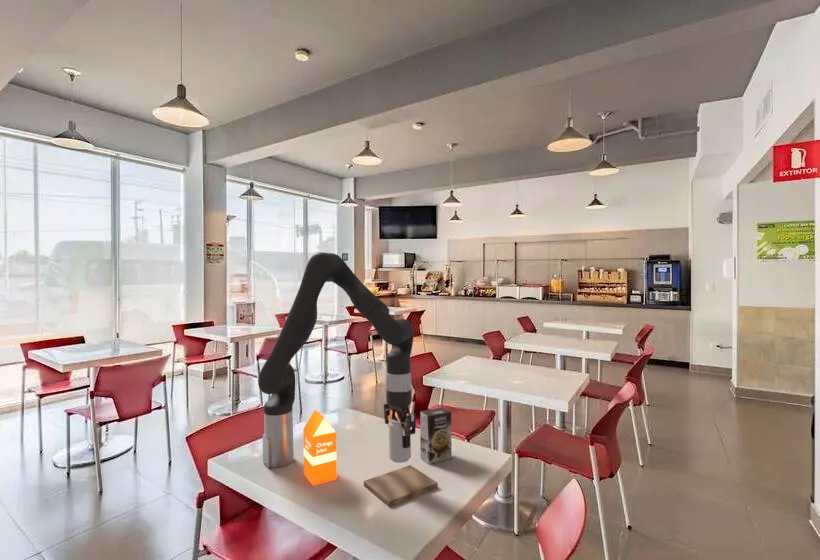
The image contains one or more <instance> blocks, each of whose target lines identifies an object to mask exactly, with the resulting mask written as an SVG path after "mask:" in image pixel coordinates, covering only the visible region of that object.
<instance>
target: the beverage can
mask: <svg viewBox="0 0 820 560" xmlns="http://www.w3.org/2000/svg"><path fill="white" fill-rule="evenodd" d="M406 423H407V420H406V421H404V422H402V424H406ZM405 431H406V426H405ZM402 435H403V434H402V428H400V427H399V423H398V421H397V420H396V419H391V418H390V422H389V427H388V447H389V448H388V451H389V453H388V456H389V459H390V460H391V461H392V462H394V463H398V464H399V463H400V464H401V463H406V462H407V461H409V460H410V459H411V458H412V449H411V448H412V443H411V442H412V441H411V437H412V435H410V447H408V448H403V443H402Z"/></svg>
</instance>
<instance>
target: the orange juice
mask: <svg viewBox="0 0 820 560" xmlns="http://www.w3.org/2000/svg"><path fill="white" fill-rule="evenodd" d="M302 429H303V430H302V431H303V433H302V434H303V475H304V476H305V478H306V479H307V481H309V482H310V483H311V485H312V486H317V485H320V484H325V483H326V482H331V481H334V480H337V475H338V471H337V431H336V430H335V429H334V428H333V427H332V425H331V424H330V422H328V419H326V418H325V416H323V415H322V414H321V413H320V412H318V411H317V410H316V409H314V410H313V412H312V414H311V415H310V417H309V419H308V420H307V422H306V423H305V426H304V427H303V428H302Z"/></svg>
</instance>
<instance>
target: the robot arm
mask: <svg viewBox="0 0 820 560" xmlns="http://www.w3.org/2000/svg"><path fill="white" fill-rule="evenodd" d="M331 282H332V283H333V284H335V285H337V286H338V287H339V288H341V290H343V291H344V292H345V293H346V294H347V296H348V297H349V299H350V301H351V303H352V304H353V307H354V308H355V309H356V311H357V312H359V313H360V315H362V316H363V317H364V318H365V319H366V320H367V322H370V323H371V325H372V327H373V328H374V330H375V331H376V332H377V334H378V336H379V337H380V338H381V339H382V340H383V341H384V342H386V343H387V344H389V345H391V350H390V351H389V353H387V356H386V377H385V378H386V379H385V387H386V388H385V392H386V393H385V396H386V397H385V398H386V401H385V402H386V403H384V404H383V417H384V418H383V419H384V424H385V425H387V427H388V428H389V422H390V418H391V419H396V420H397V421H398V423H399V427H400V428H402V434H403V435H402V443H403V448H408V447H410V435H411V436H412V435H414V434H416V430H417V429H416V425H417V414H416V413H415V412H414V413H412V412H410V407H409V406H410V405H411V403H413V402H412V401H413V400H412V399H413V397H412V395H413V392H412V391H413V390H412V388H413V387H412V385H413V384H412V374H411V353H412V350H413V343H414V328H413V325H412V323H411V322H410V321H409V320H408V319H406V318H399V319H395V318H393V316H391V314H390V308H389V306H387V305H386V304H385V303H384V302H383V301H382V300H381V299H380V298H379V297H377V295H375V294H374V293H373V292H372V291H371V290H370V289H369V288H368V287H367V286H366V285H364V283H363V282H362V281H361V280H360V279H359V277H357V276H356V274H355V273H354V272H353V270H352V269H351V268H350V267H349V265H348V264H347V262H345V261H344V259H343V258H342V257H341V256H340V255H338V254H336V253H333V252H332V253H331V252H316V253H314V254H313V255H311V257H310V258H309V259H308V261H307V263H306V267H305V269H304V272H303V276H302V280H301V283H300V285H299V288H298V291H297V293H296V296H295V298H294V301H293V303H292V305H291V308H290V310H289V312H288V313H287V316H286V319H285V321H284V323H283V325H282V328H281V331H280V332H279V335H278V337H277V340H276V341H275V344H274V345H273V348H272V351H271V352H270V353H269V356H268V358H267V359H266V361H265V363H264V364H263V366H262V368H261V369H260V372H259V374H258V378H257V379H258V381H257V384H258V387H259V390H260V391H261V393H264V394H265V395H270V397H269V399H268V400H267V401H266V402H265V403H264V405H263V416H264V417H263V420H264V421H263V422H264V426H263V427H264V429H263V430H264V431H263V432H264V433H263V434H262V461H264V462H265V464H266V465H267V466H266V465H265V464H264V465H265V466H266V467H267V469H270V468H269V467H272V468H281V467H286V466H288V465H290V464H292V463H293V461H294V455H295V454H294V453H295V452H294V422H293V421H294V417H293V416H294V415H293V413H294V412H293V409H294V408H293V407H294V403H295V399H296V397H295V396H296V372H295V370H294V367H293V366H292V365H291V364H290V362H291V360H292V359H293V358H294V357H295V356H296V354H298V352H299V351H300V350H301V349H302V348H303V347H304V345H305V344H306V343H307V342H308V340H309V338H310V337H311V334H312V332H313V331H314V328H315V326H316V323H317V321H318V320H317V319H318V300H319V296H320V294H321V292H322V289H323V287H324V285H326V283H331ZM406 420H407V423H406V424H402V422H404V421H406ZM405 426H406V431H405ZM264 462H263V463H264Z"/></svg>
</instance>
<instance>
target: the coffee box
mask: <svg viewBox="0 0 820 560" xmlns="http://www.w3.org/2000/svg"><path fill="white" fill-rule="evenodd" d="M419 412H420V418H419V420H420V433H419V434H420V444H419V445H420V448H419V449H420V453H419V454H420V455H419V456H420V458H421V459H422V460H423V461H425V462H426V463H427V464H428V465H432V464H436V463H439V461H440V462H443V461H442V460H444V461H447V460H446V459H448V460H451V459H450V458H452V453H453V451H452V450H453V449H452V444H453V443H452V411H450V410H449V409H445V408H444V407H437V408H431V409H426V410H421V411H419Z"/></svg>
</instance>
